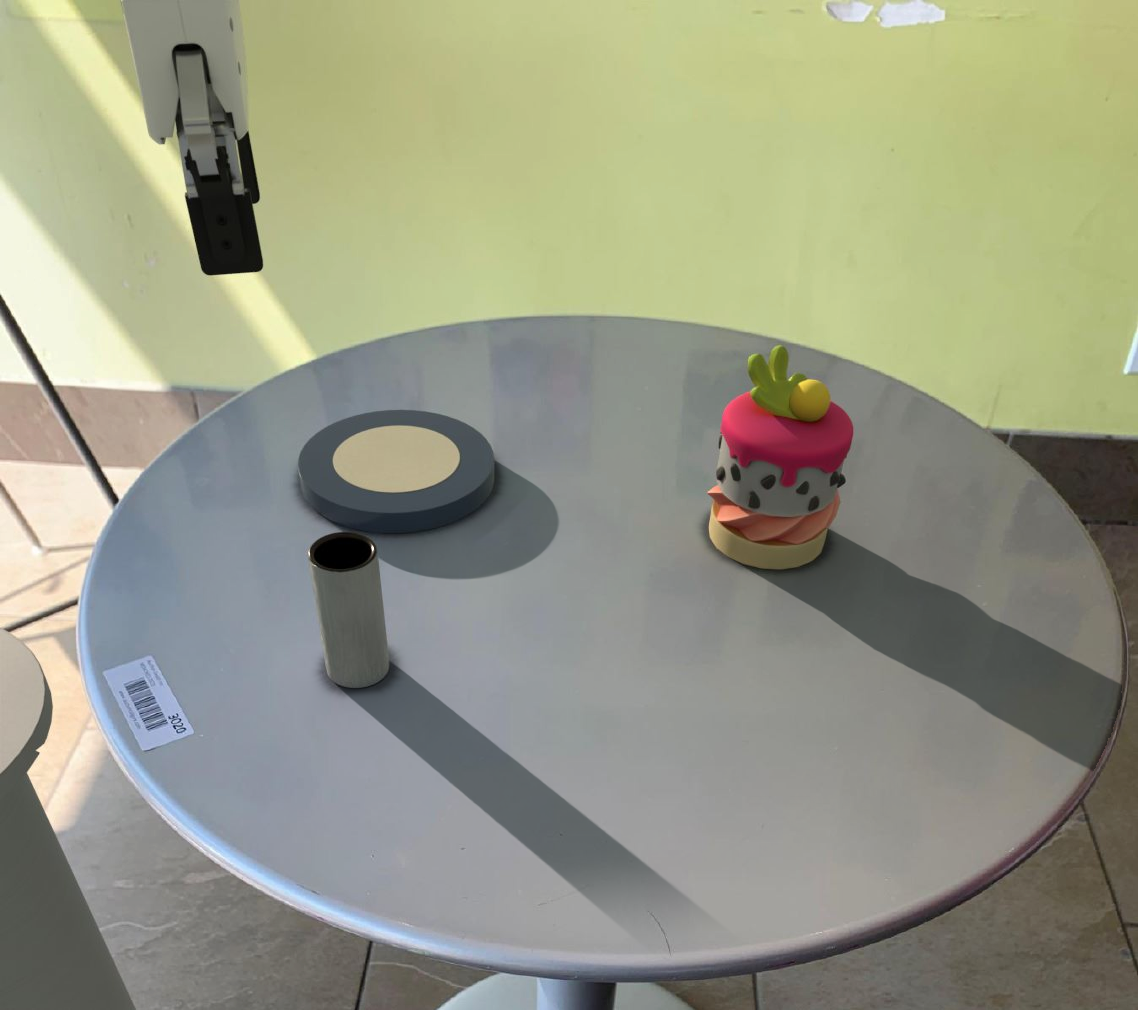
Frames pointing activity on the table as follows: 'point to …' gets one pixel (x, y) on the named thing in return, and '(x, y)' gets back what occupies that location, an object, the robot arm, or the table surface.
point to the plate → (396, 471)
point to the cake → (778, 468)
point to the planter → (350, 608)
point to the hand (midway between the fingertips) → (233, 235)
